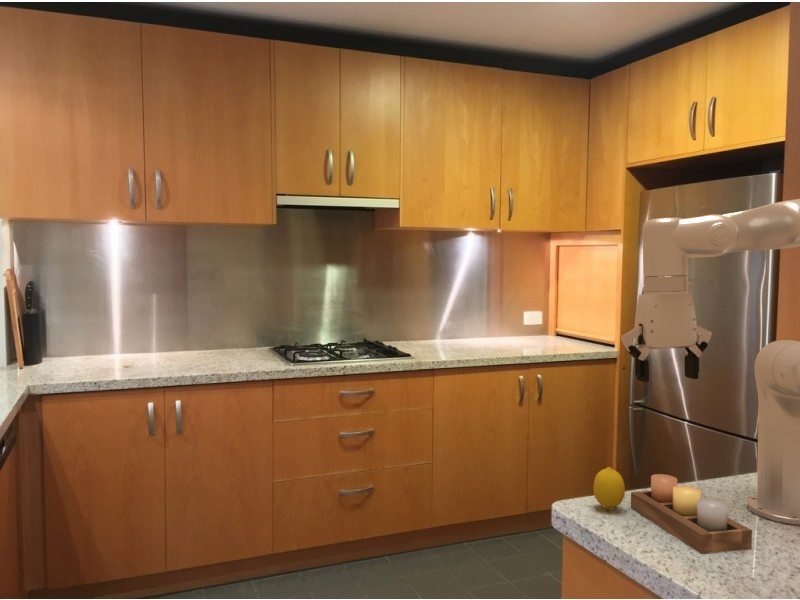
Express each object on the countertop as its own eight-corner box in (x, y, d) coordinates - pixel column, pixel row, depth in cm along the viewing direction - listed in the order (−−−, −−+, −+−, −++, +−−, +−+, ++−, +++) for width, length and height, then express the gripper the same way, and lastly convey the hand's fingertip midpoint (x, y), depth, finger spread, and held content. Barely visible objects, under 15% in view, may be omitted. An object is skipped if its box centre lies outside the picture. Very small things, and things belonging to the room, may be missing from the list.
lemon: (626, 516, 115) (627, 472, 114) (594, 514, 116) (595, 470, 116) (622, 505, 120) (622, 463, 120) (591, 503, 121) (592, 462, 121)
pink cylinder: (667, 496, 119) (667, 473, 119) (682, 505, 115) (682, 480, 114) (646, 498, 118) (646, 474, 118) (660, 506, 114) (660, 482, 114)
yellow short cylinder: (689, 509, 113) (690, 484, 112) (706, 518, 108) (706, 492, 108) (667, 511, 112) (667, 486, 111) (683, 520, 107) (683, 494, 107)
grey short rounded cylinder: (714, 523, 106) (715, 497, 106) (733, 533, 102) (733, 506, 102) (691, 525, 105) (691, 499, 105) (709, 535, 101) (709, 508, 101)
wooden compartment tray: (673, 504, 121) (674, 488, 121) (751, 548, 101) (752, 530, 101) (630, 507, 119) (630, 492, 119) (701, 553, 99) (701, 534, 99)
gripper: (696, 284, 121) (697, 373, 121) (611, 287, 118) (613, 379, 119) (722, 284, 113) (723, 380, 114) (631, 288, 111) (633, 385, 111)
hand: (667, 379), depth 116 cm, fingers open, 9 cm apart
